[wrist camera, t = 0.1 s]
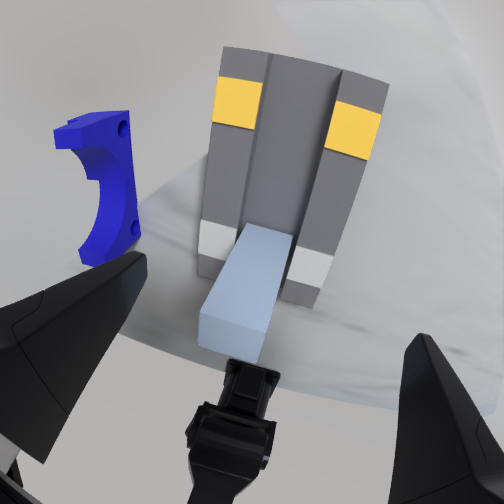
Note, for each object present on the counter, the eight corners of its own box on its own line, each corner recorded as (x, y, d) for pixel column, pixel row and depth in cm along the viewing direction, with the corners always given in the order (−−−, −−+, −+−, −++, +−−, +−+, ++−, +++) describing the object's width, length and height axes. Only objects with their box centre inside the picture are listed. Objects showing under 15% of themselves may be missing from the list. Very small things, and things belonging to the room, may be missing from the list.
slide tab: (284, 266, 25) (256, 364, 17) (241, 254, 25) (197, 345, 18) (293, 235, 23) (266, 332, 16) (246, 222, 24) (199, 312, 16)
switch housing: (314, 289, 27) (311, 310, 25) (207, 258, 28) (196, 276, 26) (383, 82, 17) (390, 84, 14) (235, 48, 18) (222, 46, 16)
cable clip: (90, 112, 23) (41, 131, 18) (129, 110, 22) (80, 128, 17) (106, 227, 30) (71, 260, 25) (142, 234, 29) (107, 270, 24)
